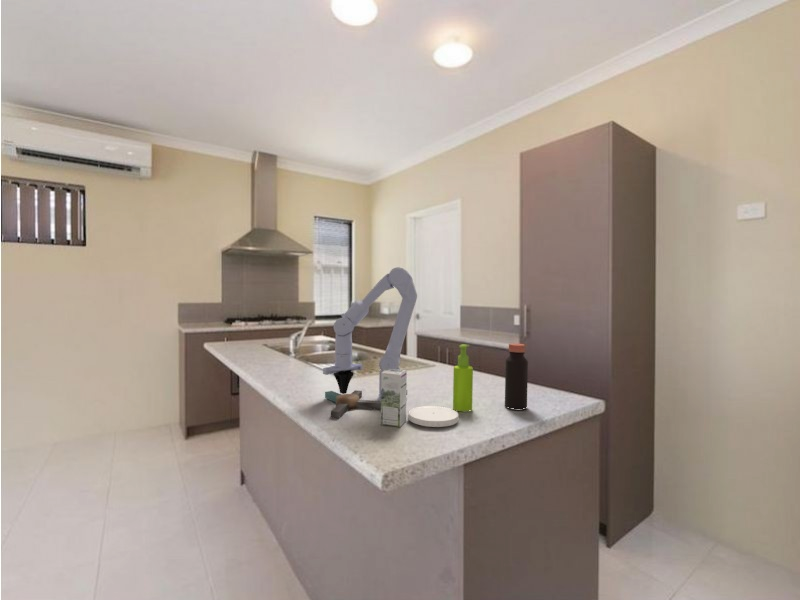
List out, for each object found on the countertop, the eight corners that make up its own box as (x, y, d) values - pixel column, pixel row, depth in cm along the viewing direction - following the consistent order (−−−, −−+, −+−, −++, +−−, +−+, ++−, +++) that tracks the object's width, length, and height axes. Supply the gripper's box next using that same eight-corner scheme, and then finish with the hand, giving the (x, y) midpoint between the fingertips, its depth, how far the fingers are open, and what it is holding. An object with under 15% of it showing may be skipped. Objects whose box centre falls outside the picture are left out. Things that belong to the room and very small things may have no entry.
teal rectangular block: (344, 401, 127) (344, 395, 127) (337, 403, 126) (337, 397, 126) (331, 396, 133) (331, 390, 133) (325, 397, 132) (325, 391, 132)
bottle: (530, 407, 125) (532, 344, 124) (520, 412, 120) (522, 346, 119) (510, 403, 129) (512, 342, 129) (500, 407, 124) (501, 344, 124)
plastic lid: (419, 411, 120) (419, 403, 120) (464, 418, 114) (464, 410, 114) (399, 425, 107) (400, 416, 107) (449, 434, 101) (449, 424, 101)
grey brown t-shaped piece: (392, 398, 133) (392, 389, 133) (376, 421, 110) (376, 410, 109) (348, 395, 136) (348, 387, 136) (323, 417, 112) (323, 407, 112)
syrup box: (406, 421, 110) (407, 369, 110) (399, 428, 105) (400, 373, 104) (387, 418, 112) (388, 367, 112) (379, 425, 106) (380, 371, 106)
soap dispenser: (475, 407, 124) (476, 344, 124) (469, 413, 118) (470, 346, 118) (457, 404, 127) (458, 342, 126) (450, 410, 121) (451, 345, 120)
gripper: (354, 349, 141) (354, 387, 142) (318, 353, 132) (318, 393, 132) (366, 352, 136) (365, 391, 136) (329, 356, 127) (329, 398, 127)
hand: (343, 393), depth 134 cm, fingers closed
